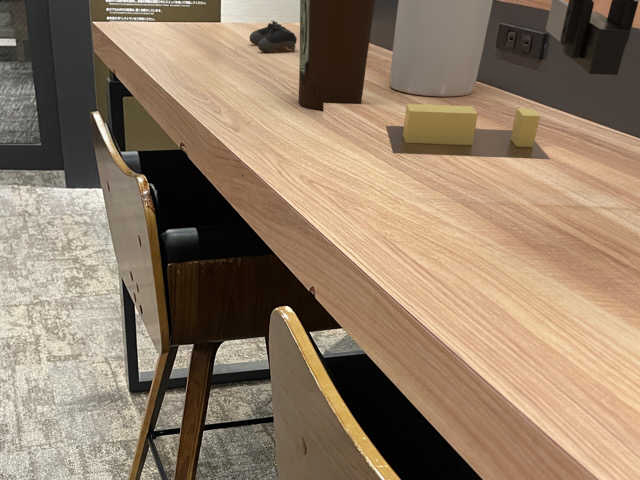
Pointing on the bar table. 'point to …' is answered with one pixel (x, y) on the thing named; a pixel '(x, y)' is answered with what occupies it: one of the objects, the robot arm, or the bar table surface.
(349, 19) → the olive oil
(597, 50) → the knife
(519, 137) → the butter slice
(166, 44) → the bar table surface
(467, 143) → the butter block
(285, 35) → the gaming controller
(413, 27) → the utensil holder
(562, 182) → the bar table surface
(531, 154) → the cutting board
